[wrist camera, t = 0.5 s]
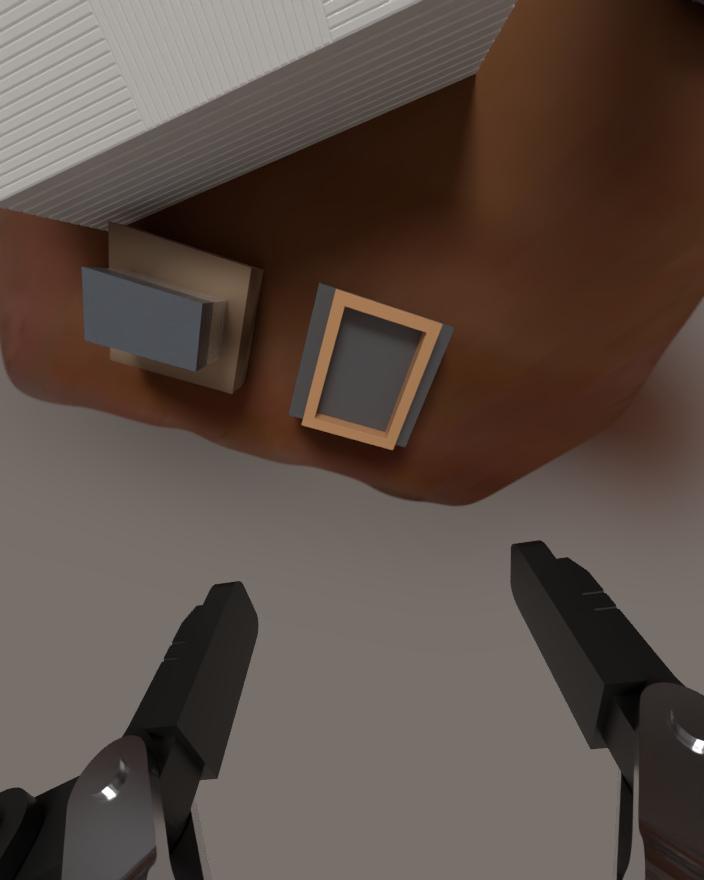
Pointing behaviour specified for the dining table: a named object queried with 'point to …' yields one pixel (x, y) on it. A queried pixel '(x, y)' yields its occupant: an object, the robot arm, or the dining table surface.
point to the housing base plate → (218, 304)
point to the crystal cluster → (698, 1)
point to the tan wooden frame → (366, 368)
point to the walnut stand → (200, 275)
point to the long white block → (205, 89)
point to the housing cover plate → (145, 318)
